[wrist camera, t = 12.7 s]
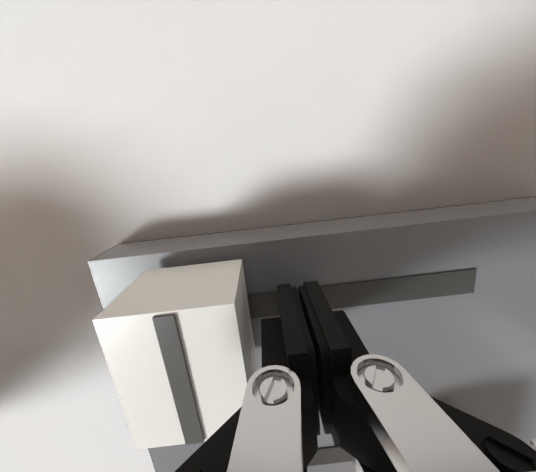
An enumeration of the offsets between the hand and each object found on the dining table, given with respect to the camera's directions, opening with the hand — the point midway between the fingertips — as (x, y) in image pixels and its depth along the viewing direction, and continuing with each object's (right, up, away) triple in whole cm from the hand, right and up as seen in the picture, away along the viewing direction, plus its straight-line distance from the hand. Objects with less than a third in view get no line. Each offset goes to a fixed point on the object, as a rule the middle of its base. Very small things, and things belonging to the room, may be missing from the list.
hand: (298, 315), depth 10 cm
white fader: (-4, 0, +1) cm, 4 cm away
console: (+3, -4, +5) cm, 7 cm away
